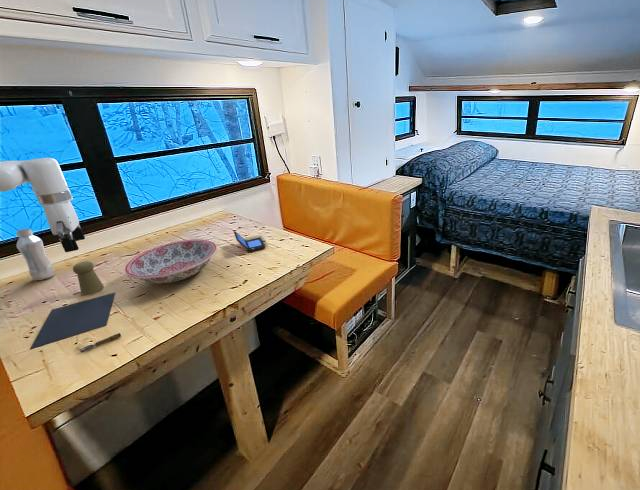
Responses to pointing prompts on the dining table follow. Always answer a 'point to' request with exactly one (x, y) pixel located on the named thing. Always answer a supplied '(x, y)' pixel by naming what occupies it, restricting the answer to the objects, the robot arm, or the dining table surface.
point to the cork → (87, 278)
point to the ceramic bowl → (171, 261)
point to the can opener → (102, 341)
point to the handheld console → (250, 243)
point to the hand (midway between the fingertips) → (75, 245)
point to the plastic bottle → (34, 255)
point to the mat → (74, 319)
